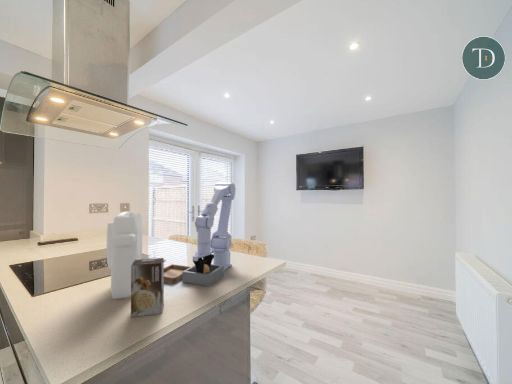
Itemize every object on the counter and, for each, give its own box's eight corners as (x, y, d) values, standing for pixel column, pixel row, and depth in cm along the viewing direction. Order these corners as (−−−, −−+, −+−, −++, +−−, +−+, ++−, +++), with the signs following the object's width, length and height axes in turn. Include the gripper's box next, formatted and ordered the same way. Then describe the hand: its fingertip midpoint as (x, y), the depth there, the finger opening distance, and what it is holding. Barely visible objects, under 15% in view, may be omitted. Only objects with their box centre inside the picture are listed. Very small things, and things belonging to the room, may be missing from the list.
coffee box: (164, 304, 77) (165, 257, 77) (161, 314, 71) (162, 263, 71) (134, 307, 75) (135, 259, 75) (129, 318, 69) (130, 265, 69)
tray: (172, 269, 113) (172, 264, 113) (194, 272, 109) (194, 267, 109) (149, 279, 99) (149, 274, 99) (173, 284, 95) (173, 278, 95)
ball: (201, 273, 104) (202, 262, 104) (211, 274, 102) (211, 263, 102) (195, 276, 99) (195, 265, 99) (205, 278, 98) (205, 266, 98)
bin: (199, 272, 109) (199, 262, 109) (223, 275, 105) (223, 265, 105) (182, 282, 97) (182, 271, 97) (208, 286, 93) (209, 275, 93)
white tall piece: (115, 278, 100) (116, 210, 101) (143, 275, 104) (144, 210, 104) (96, 307, 75) (97, 216, 75) (134, 301, 79) (135, 215, 79)
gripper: (204, 238, 109) (204, 266, 109) (186, 245, 95) (186, 277, 95) (218, 239, 107) (217, 268, 107) (201, 246, 93) (200, 279, 93)
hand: (203, 272), depth 101 cm, fingers closed on ball, 5 cm apart
